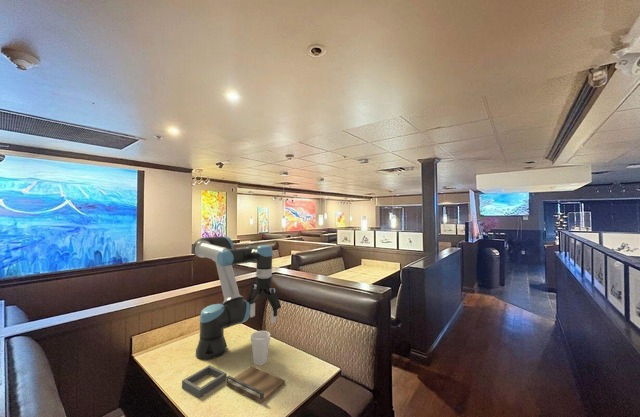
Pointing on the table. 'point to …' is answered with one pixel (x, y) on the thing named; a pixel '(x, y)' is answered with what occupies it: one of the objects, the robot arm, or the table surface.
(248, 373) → the shelf board
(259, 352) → the foam cup
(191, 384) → the frame
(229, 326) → the robot arm
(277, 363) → the table surface
